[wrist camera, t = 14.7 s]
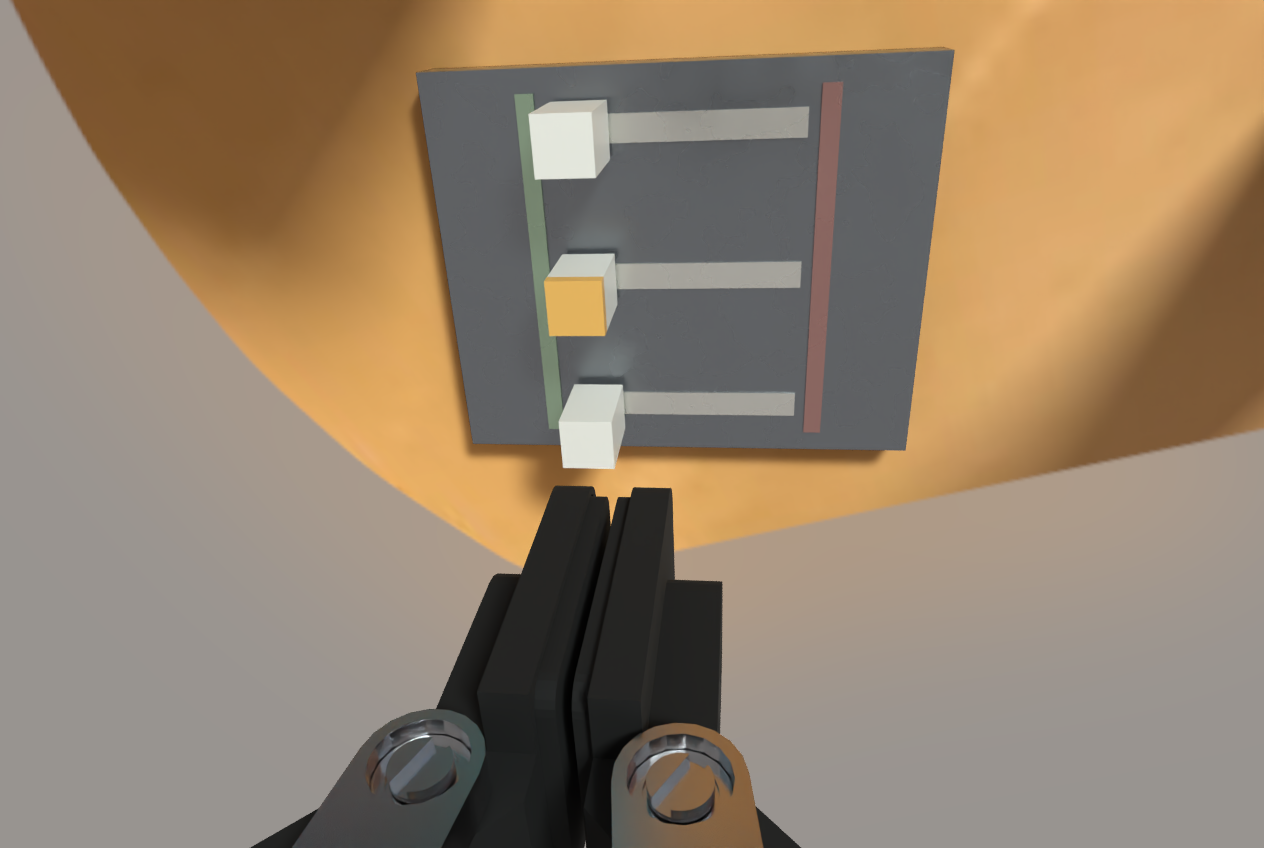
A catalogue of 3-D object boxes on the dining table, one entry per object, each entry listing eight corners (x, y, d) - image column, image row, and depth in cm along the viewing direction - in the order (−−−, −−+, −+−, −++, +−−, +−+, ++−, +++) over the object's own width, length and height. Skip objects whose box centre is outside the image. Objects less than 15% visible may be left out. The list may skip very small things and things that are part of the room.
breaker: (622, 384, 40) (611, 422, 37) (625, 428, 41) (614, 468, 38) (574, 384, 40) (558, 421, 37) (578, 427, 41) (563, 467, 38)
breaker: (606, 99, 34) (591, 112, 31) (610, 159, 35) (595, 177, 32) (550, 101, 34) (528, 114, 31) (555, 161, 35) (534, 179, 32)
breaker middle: (614, 253, 37) (601, 280, 34) (617, 304, 38) (605, 336, 35) (562, 254, 37) (543, 281, 34) (566, 304, 38) (549, 336, 35)
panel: (943, 46, 34) (955, 50, 32) (898, 431, 42) (905, 451, 40) (431, 68, 37) (415, 72, 35) (483, 426, 45) (472, 444, 43)
